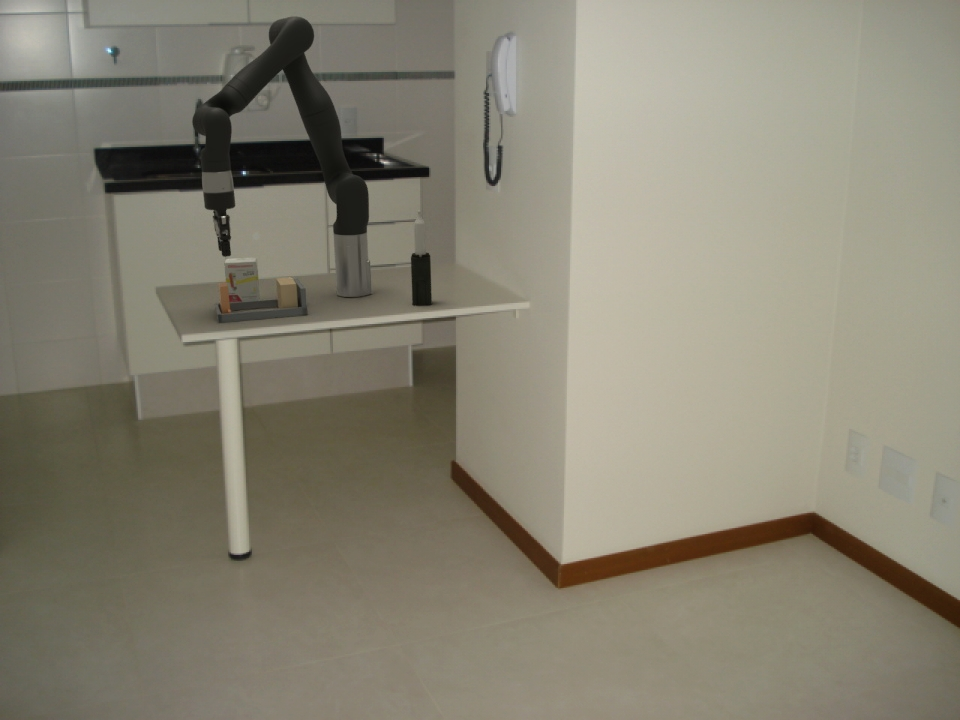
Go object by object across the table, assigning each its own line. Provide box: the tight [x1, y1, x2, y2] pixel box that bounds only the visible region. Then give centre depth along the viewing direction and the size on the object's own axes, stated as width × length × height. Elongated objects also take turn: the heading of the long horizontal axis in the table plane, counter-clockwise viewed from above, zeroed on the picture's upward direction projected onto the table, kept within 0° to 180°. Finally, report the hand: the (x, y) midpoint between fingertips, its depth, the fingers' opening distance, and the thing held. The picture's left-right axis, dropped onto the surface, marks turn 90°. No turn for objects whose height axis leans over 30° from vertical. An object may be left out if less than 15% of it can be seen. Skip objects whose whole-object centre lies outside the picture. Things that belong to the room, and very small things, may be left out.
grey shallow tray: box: [213, 278, 308, 324], centre depth 260 cm, size 22×13×7 cm, turn 108°
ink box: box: [224, 257, 261, 303], centre depth 271 cm, size 9×5×12 cm, turn 100°
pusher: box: [218, 281, 232, 314], centre depth 257 cm, size 2×10×8 cm, turn 18°
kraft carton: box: [275, 276, 298, 309], centre depth 262 cm, size 4×9×8 cm, turn 18°
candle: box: [410, 209, 433, 306], centre depth 265 cm, size 5×5×25 cm
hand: (224, 253), depth 256 cm, fingers open, 8 cm apart
